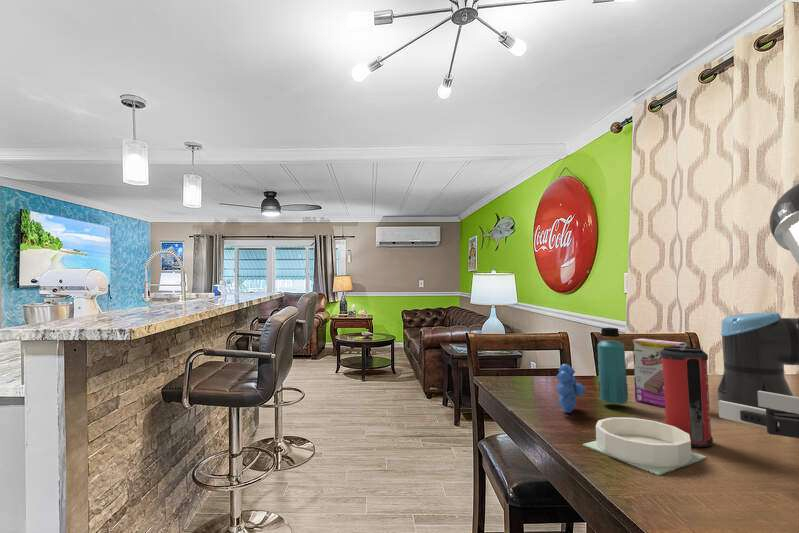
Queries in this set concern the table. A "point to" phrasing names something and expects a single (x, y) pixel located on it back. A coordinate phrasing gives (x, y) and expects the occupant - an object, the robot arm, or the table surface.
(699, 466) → the table surface
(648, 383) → the candy bar box
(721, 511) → the table surface
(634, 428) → the bowl
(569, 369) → the grapes
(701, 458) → the mat
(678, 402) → the speaker
